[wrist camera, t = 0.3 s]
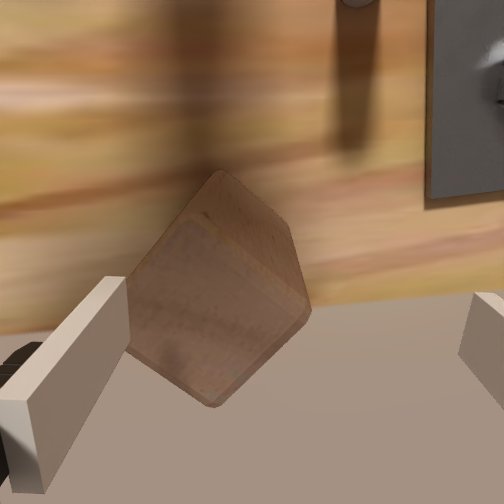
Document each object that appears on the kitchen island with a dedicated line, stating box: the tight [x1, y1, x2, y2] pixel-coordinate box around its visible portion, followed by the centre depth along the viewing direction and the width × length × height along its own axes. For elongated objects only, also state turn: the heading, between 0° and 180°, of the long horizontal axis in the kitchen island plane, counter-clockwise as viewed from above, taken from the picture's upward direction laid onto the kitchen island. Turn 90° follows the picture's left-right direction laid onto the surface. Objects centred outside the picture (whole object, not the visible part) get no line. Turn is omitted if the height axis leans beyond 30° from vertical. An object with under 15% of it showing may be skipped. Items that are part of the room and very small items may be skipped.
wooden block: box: [125, 170, 312, 408], centre depth 32 cm, size 10×10×20 cm
